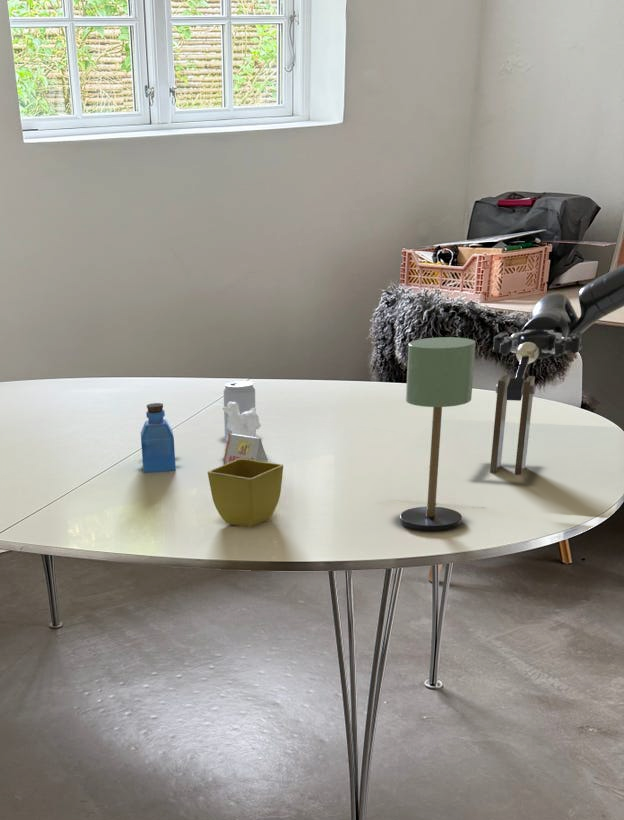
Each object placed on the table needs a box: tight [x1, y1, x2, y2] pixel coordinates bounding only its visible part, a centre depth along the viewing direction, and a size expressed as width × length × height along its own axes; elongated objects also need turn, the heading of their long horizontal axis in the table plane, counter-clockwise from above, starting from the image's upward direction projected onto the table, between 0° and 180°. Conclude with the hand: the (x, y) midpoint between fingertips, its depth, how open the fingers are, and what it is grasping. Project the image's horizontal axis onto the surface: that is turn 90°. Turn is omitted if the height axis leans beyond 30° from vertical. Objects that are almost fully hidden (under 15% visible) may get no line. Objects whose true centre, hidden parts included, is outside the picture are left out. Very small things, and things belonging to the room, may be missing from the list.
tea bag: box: [222, 434, 269, 465], centre depth 164 cm, size 4×7×10 cm, turn 46°
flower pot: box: [207, 459, 284, 528], centre depth 150 cm, size 9×9×9 cm
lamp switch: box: [507, 342, 539, 402], centre depth 159 cm, size 13×4×4 cm, turn 151°
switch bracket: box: [489, 374, 537, 475], centre depth 159 cm, size 10×8×17 cm
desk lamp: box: [399, 336, 477, 533], centre depth 139 cm, size 9×9×27 cm
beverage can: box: [223, 380, 257, 442], centre depth 194 cm, size 6×6×12 cm
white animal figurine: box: [222, 401, 262, 443], centre depth 180 cm, size 8×7×12 cm
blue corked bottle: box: [140, 402, 177, 473], centre depth 182 cm, size 6×6×12 cm
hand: (530, 349), depth 164 cm, fingers open, 8 cm apart
